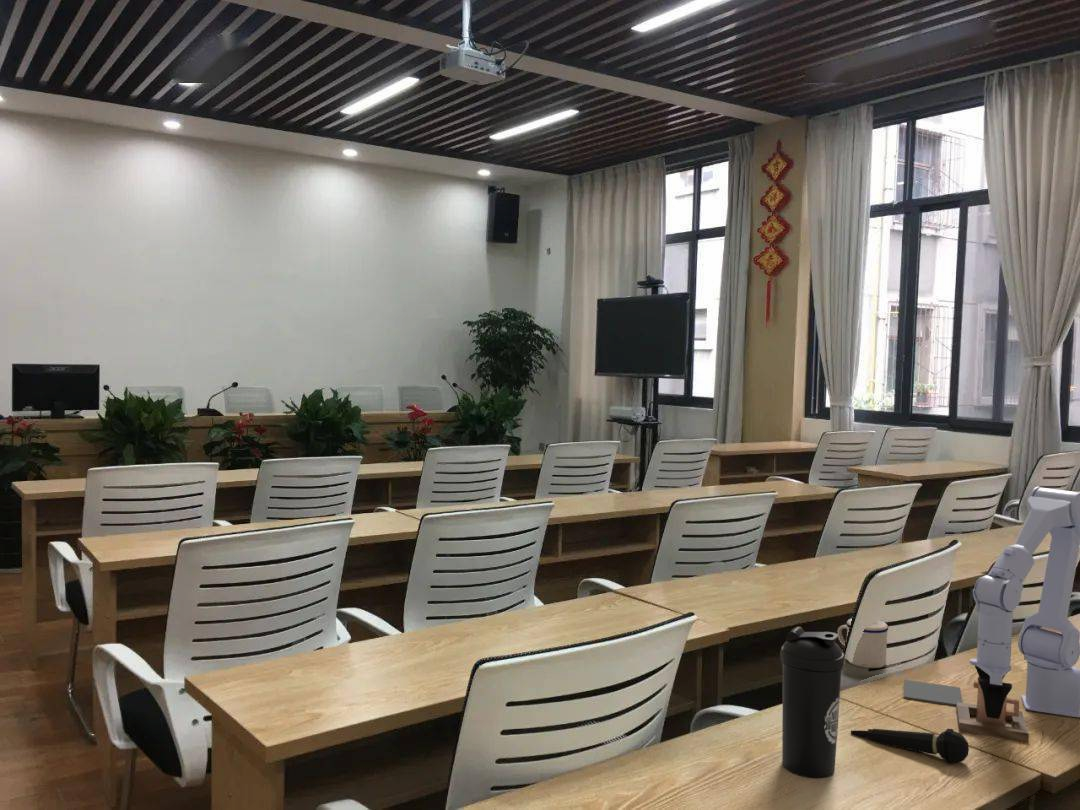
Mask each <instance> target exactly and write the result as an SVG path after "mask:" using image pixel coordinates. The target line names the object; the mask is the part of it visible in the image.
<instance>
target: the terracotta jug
mask: <svg viewBox="0 0 1080 810" xmlns="http://www.w3.org/2000/svg"><path fill="white" fill-rule="evenodd" d="M1002 683H1004V682H1003V681H1002ZM972 685H973V688H974V689H977V695H976V698H977V701H976V705H977V715H976V716H975V718H976V720H975V721H976V722H983V723H989V724H995V725H1002V726H1007V725H1006V724H1007V722H1006V721H1007V720H1006V715H1009V716H1015V717H1019V711H1020V699H1017V698H1011V697H1010V698H1009V697H1008V696H1007V697H1006V699H1005V701H1004V704H1003V708H1002V712H1001V715H1000V718H999V719H996V718H989V717H987V715H986V711H985V703H984V696H983V692H982V689H981V687H980V685H979V682H978V680H973V684H972ZM1007 704H1010V705H1013V709H1008V710H1006V709H1007ZM1012 710H1014V711H1012Z"/></svg>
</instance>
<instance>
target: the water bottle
mask: <svg viewBox="0 0 1080 810" xmlns="http://www.w3.org/2000/svg"><path fill="white" fill-rule="evenodd" d="M837 640H839V638H838V633H836V632H832V631H805V630H804V629H803V627H801V626H795V627H794V628H792V629H791V630H790V631H788V633H787V635H786V641H784V643H783V645H781V648H780V660H781V663H782V725H781V726H782V734H781V735H782V737H781V738H782V739H781V740H782V741H781V742H782V744H781V745H782V748H781V749H782V756H781V757H782V758H781V762H782V766H783V768H784V769H785V770H787V772H790V773H792V774H794V775H796V776H799V777H803V778H808V779H809V778H810V779H824V778H828V777H831V776H833V775H834V774H835V769H836V758H837V757H836V756H837V755H836V753H837V744H838V743H837V741H838V731H839V730H838V729H839V718H840V704H841V703H840V702H841V701H840V699H841V685H842V684H841V681H842V670H843V669H844V666H845V653H844V652H843V651H842V649H841V646H840V645H839V644H838V643H836V641H837Z"/></svg>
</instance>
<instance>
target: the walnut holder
mask: <svg viewBox="0 0 1080 810" xmlns="http://www.w3.org/2000/svg"><path fill="white" fill-rule="evenodd" d="M1006 710H1009V709H1007V708H1006ZM1011 710H1012V711H1014V709H1011ZM955 711H956V718H957V727H958V731H961V732H967V733H973V734H980V735H985V736H992V737H998V738H1004V739H1009V740H1010V739H1011V740H1017V741H1023V742H1029V737H1030V736H1029V735H1030V733H1029V730H1028V727H1027V723H1026V721H1025V718H1024V714H1023V711H1020V710H1019V717H1015V716H1009V715H1006V721H1007V722H1011V726H1008V725H1006V726H1002V725H995V724H989V723H983V722H976V720H971V717H970V716H974V717H976V715H977V704H974V703H973V704H972V703H968V702H962V703H961V702H956V706H955Z"/></svg>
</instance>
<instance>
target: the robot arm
mask: <svg viewBox="0 0 1080 810" xmlns="http://www.w3.org/2000/svg"><path fill="white" fill-rule="evenodd" d="M1026 510H1027V511H1026V512H1027V516H1026V518H1025V521H1024V523H1023V525H1022V526H1021V529H1020V531H1019V533H1018V535H1017V537H1016V539H1015V541H1014V543H1013V545H1007V546H1005V547H1004V548H1003V550H1002V551H1001V552H1000V554H999V556H998V557H997V559H996V561H995V563H994V564H993V566H992V567H991V569H990V571H989V572H988V574H984V576H983V575H982V576H980V577H979V578H977V579H976V582H975V584H974V588H973V589H972V597H973V600H974V602H975V611H976V613H977V614H978V628H977V646H976V647H977V648H976V649H977V650H976V658H970V659H969V664H970V665H972V666H974V668H975V669H976V671H977V675H978V677H977V681H978V682H979V685H980V687H981V689H982V692H983V696H984V703H985V711H986V715H987V717H989V718H996V719H999V718H1000V715H1001V712H1002V708H1003V704H1004V701H1005V699H1006V697H1007V698H1008V694H1009V693H1011V691H1012V688H1013V685H1012V683H1009V682H1003V680H1004V678H1005V677H1006V675H1007V674H1008V673H1010V672H1011V671H1012V664H1011V660H1012V659H1011V657H1012V638H1013V637H1012V636H1013V635H1012V633H1013V621H1014V620H1013V616H1014V615H1013V614H1014V613H1013V612H1014V610H1016V608H1017V607H1018V606H1019V605H1020V602H1021V599H1022V592H1023V590H1024V585H1023V583H1024V581H1025V580H1026V579H1027V576H1028V575H1029V573H1030V572H1031V570H1032V568H1033V566H1034V565H1035V559H1034V557H1033V554H1034V553H1035V552H1036V550H1037V548H1038V547H1040V545H1041V544H1042V542H1043V540H1044V539H1046V537H1047V536H1048V534H1050V536H1051V539H1050V544H1049V551H1048V556H1047V561H1046V562H1047V563H1046V567H1045V572H1044V578H1043V585H1042V590H1041V594H1040V595H1041V596H1040V600H1039V606H1038V611H1037V612H1036V613H1034V614H1031V615H1029V616H1028V617H1026V618H1025V619H1024V622H1023V626H1022V629H1021V630H1020V632H1019V633H1018V636H1017V637H1018V638H1017V648H1018V650H1019V652H1020V653H1021V654H1022V655H1023V660H1024V661H1026V662H1027V663H1026V665H1027V666H1026V683H1025V684H1026V686H1025V687H1026V688H1025V694H1021V700H1022V703H1023V705H1024V708H1025V710H1026V711H1032V712H1037V713H1044V714H1050V715H1051V714H1052V715H1058V716H1063V717H1064V716H1065V717H1072V718H1078V719H1079V718H1080V668H1079V667H1077V666H1075V665H1076V664H1077V663H1078V661H1079V659H1080V630H1079V629H1078V628H1077V627H1076V626H1075V625H1074V624H1073V622H1072V621H1071V620H1070V619H1069V617H1068V616H1069V609H1070V604H1071V597H1072V592H1073V586H1074V579H1075V576H1076V571H1077V570H1076V569H1077V564H1078V558H1079V553H1080V491H1078V492H1077V491H1072V490H1065V489H1056V488H1047V487H1043V486H1041V485H1040V486H1036V487H1034V488H1033V489H1031V491H1030V493H1029V495H1028V498H1027V499H1026ZM1044 628H1046V629H1044ZM1048 629H1049V630H1048ZM1051 630H1053V631H1051ZM1055 631H1057V632H1055ZM1059 632H1060V633H1059ZM1002 682H1003V683H1002Z"/></svg>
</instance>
